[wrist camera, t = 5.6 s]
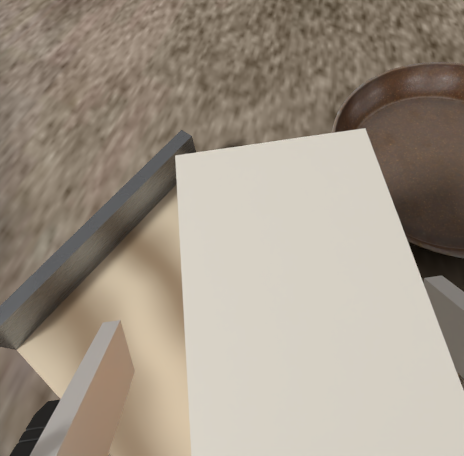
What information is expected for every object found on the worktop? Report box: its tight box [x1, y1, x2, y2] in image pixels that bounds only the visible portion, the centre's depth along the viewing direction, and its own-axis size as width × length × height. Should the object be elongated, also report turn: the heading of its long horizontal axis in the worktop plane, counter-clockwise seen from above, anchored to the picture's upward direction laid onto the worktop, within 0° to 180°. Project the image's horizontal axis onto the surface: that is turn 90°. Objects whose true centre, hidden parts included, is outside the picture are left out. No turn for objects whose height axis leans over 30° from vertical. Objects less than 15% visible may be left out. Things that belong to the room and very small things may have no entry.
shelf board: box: [17, 184, 460, 456], centre depth 22 cm, size 18×24×2 cm
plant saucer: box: [332, 62, 464, 258], centre depth 26 cm, size 18×18×3 cm
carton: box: [175, 128, 464, 456], centre depth 14 cm, size 5×10×15 cm, turn 7°
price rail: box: [0, 130, 196, 350], centre depth 24 cm, size 18×1×3 cm, turn 142°
